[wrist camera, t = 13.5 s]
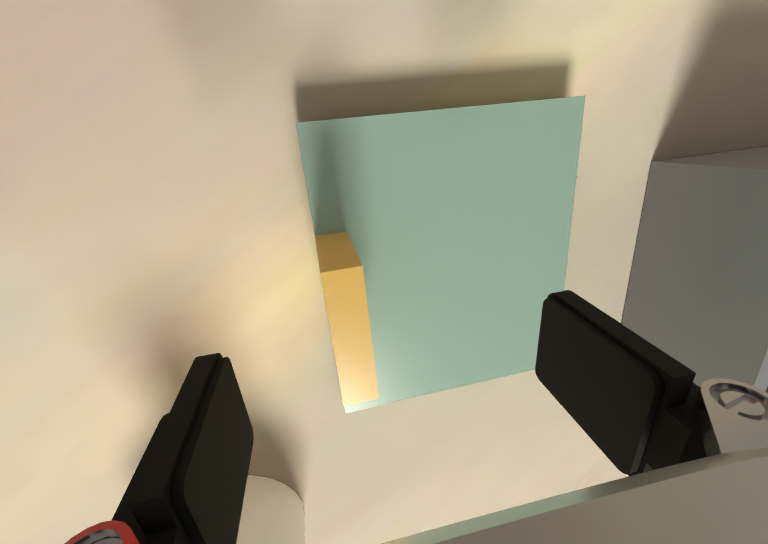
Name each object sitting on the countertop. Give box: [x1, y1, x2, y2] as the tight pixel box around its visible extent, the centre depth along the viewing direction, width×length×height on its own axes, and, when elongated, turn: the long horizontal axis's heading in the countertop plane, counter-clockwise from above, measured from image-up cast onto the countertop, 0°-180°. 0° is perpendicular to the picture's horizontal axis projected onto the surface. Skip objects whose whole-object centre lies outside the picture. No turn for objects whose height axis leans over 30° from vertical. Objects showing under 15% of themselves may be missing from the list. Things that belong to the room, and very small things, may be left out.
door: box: [296, 96, 585, 413], centre depth 18 cm, size 16×14×7 cm
